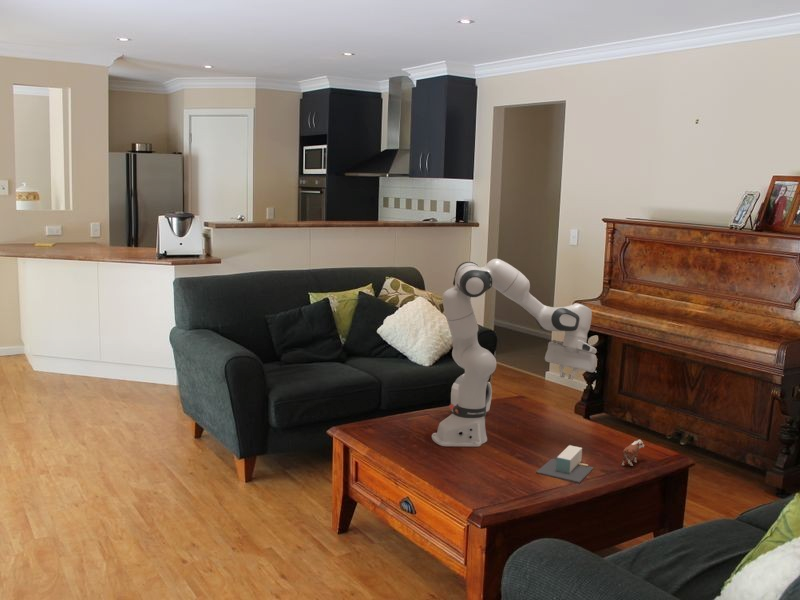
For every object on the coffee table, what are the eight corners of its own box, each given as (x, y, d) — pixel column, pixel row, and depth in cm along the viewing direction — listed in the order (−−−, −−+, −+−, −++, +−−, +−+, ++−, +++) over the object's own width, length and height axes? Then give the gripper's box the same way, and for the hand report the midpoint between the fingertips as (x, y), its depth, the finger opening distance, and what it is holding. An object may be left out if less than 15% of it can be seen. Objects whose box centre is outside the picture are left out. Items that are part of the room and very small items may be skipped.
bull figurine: (645, 460, 296) (646, 439, 295) (628, 468, 287) (630, 447, 285) (634, 457, 299) (636, 436, 298) (617, 465, 290) (619, 444, 288)
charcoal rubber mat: (536, 473, 279) (536, 471, 279) (552, 459, 293) (552, 458, 293) (579, 483, 271) (579, 481, 271) (593, 468, 285) (593, 467, 285)
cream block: (568, 457, 293) (555, 470, 281) (569, 445, 292) (556, 457, 280) (581, 460, 290) (569, 473, 278) (582, 447, 289) (569, 460, 277)
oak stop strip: (556, 461, 291) (556, 459, 291) (557, 460, 293) (557, 457, 293) (587, 468, 285) (587, 465, 285) (588, 467, 287) (588, 464, 287)
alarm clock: (458, 421, 336) (460, 376, 333) (448, 416, 343) (450, 371, 340) (492, 416, 345) (494, 372, 342) (481, 411, 352) (483, 368, 349)
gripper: (547, 337, 310) (539, 371, 309) (596, 348, 300) (588, 383, 299) (551, 339, 315) (544, 372, 314) (600, 350, 305) (592, 384, 304)
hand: (566, 378), depth 306 cm, fingers closed
